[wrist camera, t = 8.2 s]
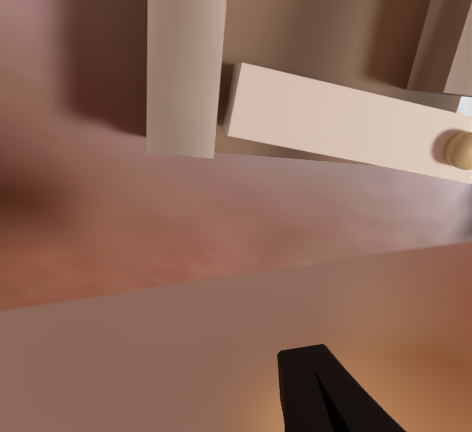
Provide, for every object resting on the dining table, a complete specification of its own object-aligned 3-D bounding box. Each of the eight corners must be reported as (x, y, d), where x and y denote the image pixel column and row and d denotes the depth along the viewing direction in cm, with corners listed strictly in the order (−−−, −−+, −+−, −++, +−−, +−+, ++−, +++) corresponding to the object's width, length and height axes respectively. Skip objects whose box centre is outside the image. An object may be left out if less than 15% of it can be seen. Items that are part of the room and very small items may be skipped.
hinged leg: (456, 116, 16) (514, 125, 13) (434, 169, 17) (483, 188, 14) (234, 64, 14) (244, 61, 11) (222, 126, 15) (229, 138, 12)
